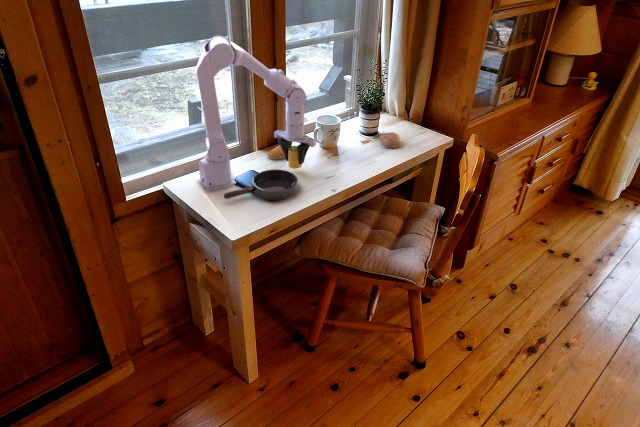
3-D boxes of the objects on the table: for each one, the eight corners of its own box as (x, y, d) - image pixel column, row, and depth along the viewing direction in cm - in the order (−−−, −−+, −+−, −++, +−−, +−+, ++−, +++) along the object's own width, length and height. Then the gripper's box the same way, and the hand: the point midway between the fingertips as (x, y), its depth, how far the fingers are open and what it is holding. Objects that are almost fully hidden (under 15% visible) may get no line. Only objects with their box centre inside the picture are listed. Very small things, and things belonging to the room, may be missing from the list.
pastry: (274, 163, 163) (274, 153, 161) (263, 156, 168) (263, 146, 165) (296, 156, 168) (296, 146, 166) (285, 149, 173) (285, 140, 170)
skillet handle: (225, 200, 139) (224, 195, 138) (222, 197, 140) (222, 192, 139) (258, 191, 144) (258, 186, 143) (256, 188, 145) (255, 183, 144)
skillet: (265, 206, 140) (264, 195, 138) (245, 185, 150) (244, 175, 148) (305, 194, 146) (305, 184, 144) (284, 175, 156) (284, 165, 154)
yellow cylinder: (292, 169, 154) (292, 151, 150) (286, 164, 157) (285, 146, 154) (304, 166, 156) (304, 148, 152) (297, 161, 159) (297, 143, 156)
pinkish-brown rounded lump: (373, 141, 180) (382, 144, 173) (380, 126, 179) (389, 129, 172) (389, 149, 183) (398, 152, 176) (396, 134, 182) (405, 137, 175)
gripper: (321, 123, 148) (320, 161, 156) (282, 114, 154) (282, 152, 162) (310, 130, 143) (309, 170, 151) (270, 121, 149) (271, 160, 156)
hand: (295, 161), depth 156 cm, fingers closed on yellow cylinder, 4 cm apart
